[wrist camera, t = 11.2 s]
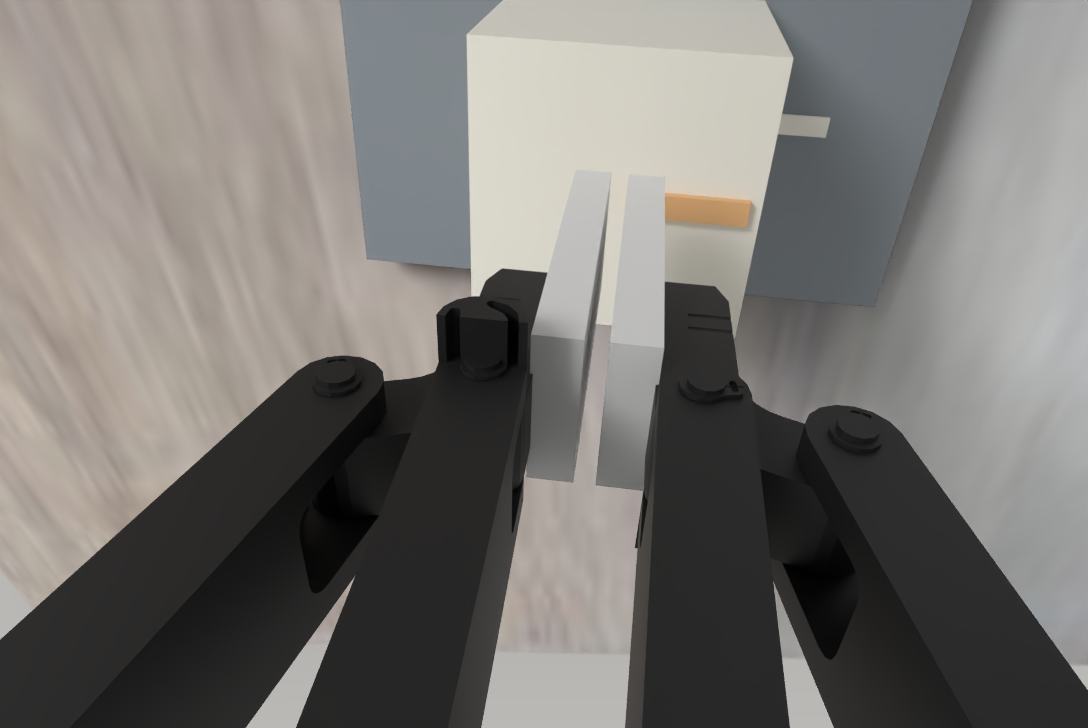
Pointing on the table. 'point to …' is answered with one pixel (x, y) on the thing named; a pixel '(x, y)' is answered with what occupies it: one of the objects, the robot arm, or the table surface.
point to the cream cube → (624, 129)
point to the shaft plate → (798, 161)
